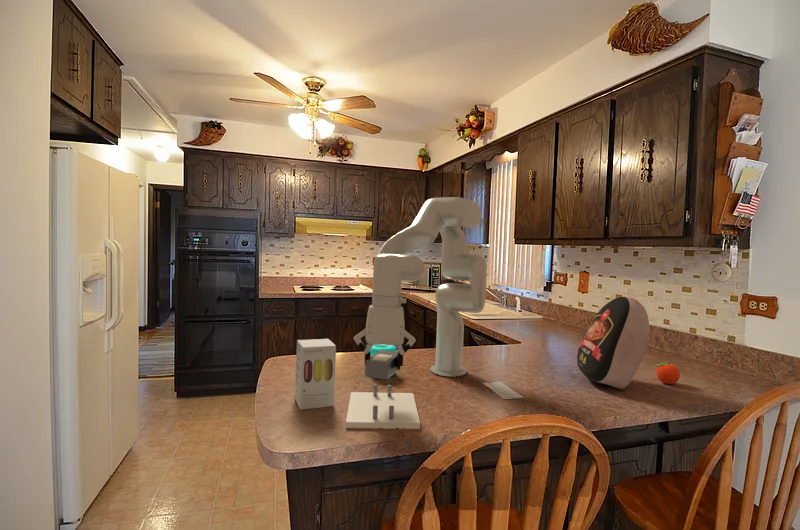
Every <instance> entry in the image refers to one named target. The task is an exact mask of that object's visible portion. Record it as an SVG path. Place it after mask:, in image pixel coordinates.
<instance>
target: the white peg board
mask: <svg viewBox="0 0 800 530" xmlns="http://www.w3.org/2000/svg"><path fill="white" fill-rule="evenodd" d="M378 386H379V385H378V384H377V383H376V384H373V387H372V389H373V392H371V391H369V392H365V391H362V392H361V391H360V392H359V391H351V392H350V396H349V402H348V409H347V412H346V413H347V414H346V421H345V429H378V428H379V429H380V428H382V429H385V430H389V429H392V430H396V428H399V430H420V429H421V420H420V417H419V412H418V408H417V404H416V399H415V396H414V393H413V392H392V390H393V389H392V388H393V385H392V384H387V391H386V392H378V391H379V390H378V389H379V387H378ZM403 428H404V429H403ZM380 430H381V429H380Z"/></svg>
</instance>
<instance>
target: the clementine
mask: <svg viewBox="0 0 800 530" xmlns="http://www.w3.org/2000/svg"><path fill="white" fill-rule="evenodd" d="M657 366H658V367H657ZM655 367H657V368H656V373H655V374H656V376H657V378H658V380H659V381H660V382H661V383H664V384H667V385H673V384H676V383H677V382H678V381H679V379H680V378H681V373H680V370H679V369H678V368H677V366H675V365H674V364H670V363H665V362H662V363H658V364H655V366H654V367H653V369H655Z"/></svg>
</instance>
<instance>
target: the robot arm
mask: <svg viewBox="0 0 800 530" xmlns="http://www.w3.org/2000/svg"><path fill="white" fill-rule="evenodd" d="M481 219H482V211H481V206H480V205H479V204H478V202H476V201H473V200H470V199H467V198H464V197H459V196H458V197H457V196H453V197H452V196H450V197H447V196H446V197H445V196H444V197H433V198H429V199H427V200H426V201H424V203H423V205H422V206H421V208H420V209H419V212H418V213H417V215H416V216H415V218H414V220H413V221H412V223H411V225H410V226H408V227H406V228H404V229H403V230H401V231H399V232H397V233H396V234H395V235H393V236H391V237H390V238H389V239H387V240H386V241H385V242H384V244H383V245H382V246H381V248H380V250H379V251H378V252H377V254H376V255H375V256H374V260H373V269H372V270H373V274H372V275H373V276H372V298H371V299H372V300H371V304H370V305H369V306H368V310H367V314H366V315H367V316H366V323H365V328H364V329H363V330H361V331H360V332H358V333H357V334H356V335H354V336H353V341H354V342H355V343H356V345H357V346H358V348H359V349H360V350H362V351H363V353H364V366H365V365H366V360H367V359H369V358H370V357H371V355H370V349H371V348H372V346H373V345H390V346H395V347H396V348H397V350H398V351H397V352H398V353H397V371H400V370H401V367H403V366H404V356H405V353H407V352H408V351H409V350H410V349H411V348H412V346H413V345H414V344H415V343H416V341H417V340H416V338H415V336H413V335H412V334H410V332H408V331H407V330H406V329H405V311H404V307H403V306H402V305H403V304H407V298H406V297H405V298H404V297H403V296H402V282H405V283H412V282H413V283H414V282H416V281H418V280H419V281H420V279H421V278H422V276H423V275H424V271H425V265H424V262H423V260H422V259H421V257H419V256H417V255H413V254H407V253H410V252H413V251H416V250H421V249H424V248H426V247H429V246H431V245H432V244H433V243H434V242H435V240H436V239H437V237H438V236H439V233H440V236H441V237H440V238H441V242H442V243H441V260H440V261H441V263H440V264H441V266H440V267H441V270H440V271H441V275H442V277H443V278H445V279H448V280H456V281H468V282H469V284H465V283H464V284H463V283H453V282H446V283H442V284H439V286H437V288H436V290H435V295H434V296H435V304H436V306H435V307H436V315H437V316H436V318H437V319H436V337H435V339H436V343H435V363H434V364H432V365H431V366H430V372H432V374H435V375H437V374H438V376H441V377H448V378H452V377H453V378H454V377H456V376H457V377H462V376H465V375H466V374H467V369H466V368H465V367H464V366H463V354H464V352H463V350H464V330H465V328H464V327H465V323H464V319H463V317H462V315H461V314H460V312H461V313H462V312H463V313H470V314H479V313H481V312H482V311H484V309H485V306H486V305H485V304H486V298H487V297H486V294H487V279H488V275H487V274H488V264H487V261H486V259H485V257H484V256H483V255H482V254H479V253H468V252H467V237H466V236H467V235H466V234H465V232H464V231H463V230H462V229H461V228H465V229H466V228H475V227H477V226H478V225H479V224H480V222H481ZM363 337H365V343H367V344H365V343H364V342H362V338H363ZM405 338H406V339H407V340H408V341H407V342H406V344H404V342H405ZM403 344H404V345H403Z"/></svg>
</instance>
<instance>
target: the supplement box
mask: <svg viewBox="0 0 800 530" xmlns="http://www.w3.org/2000/svg"><path fill="white" fill-rule="evenodd" d="M336 356H337V346H336V344H335V343H334V342H333V341H331V340H330V339H329V338H319V339H317V338H315V339H297V340H296V356H295V357H296V358H295V360H296V361H295V380H294V381H295V383H294V400H295V402H296V404H297V407H298V409H299V410H309V409H319V408H326V407H334V404H335V403H334V402H335V382H336V362H337V361H336V359H337V358H336Z"/></svg>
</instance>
